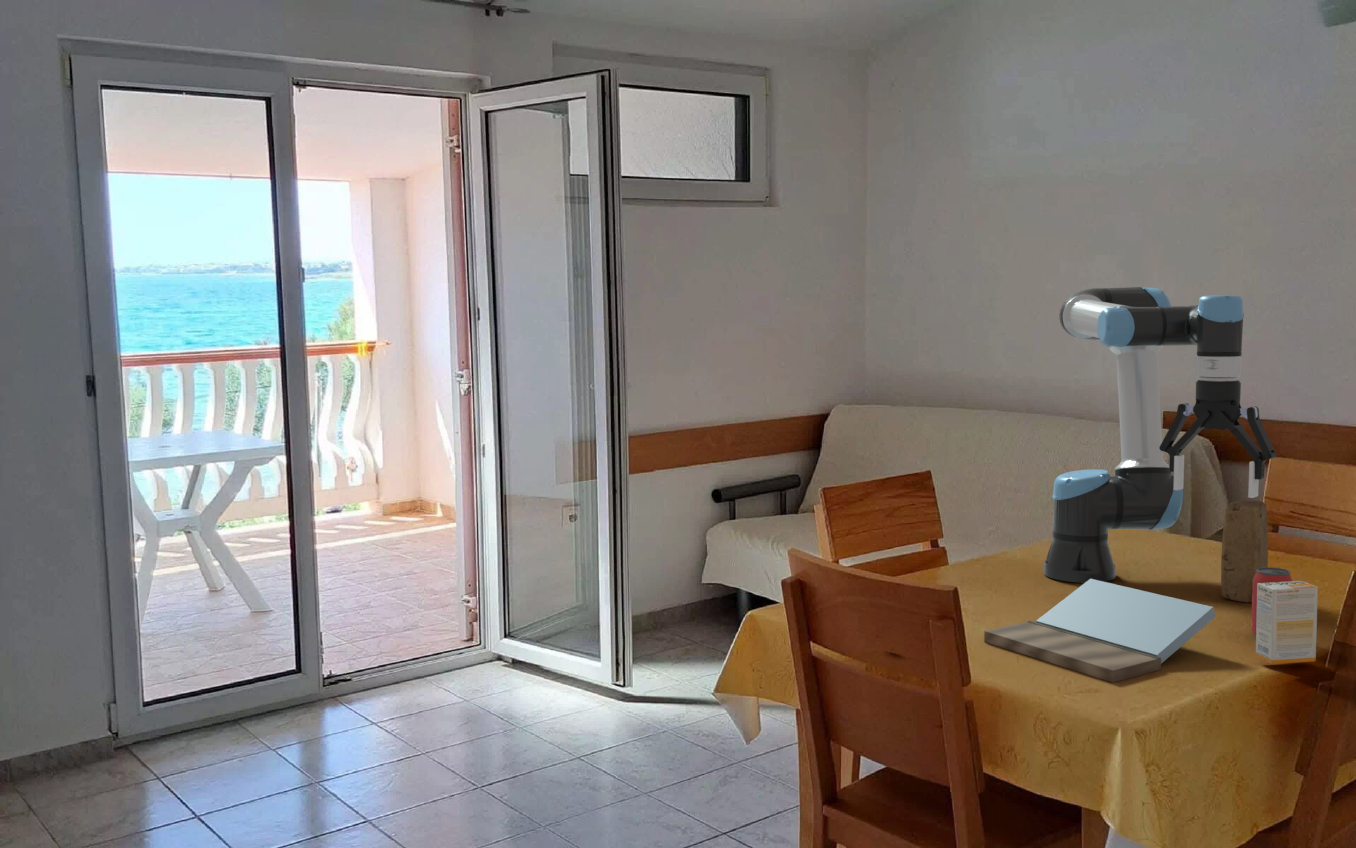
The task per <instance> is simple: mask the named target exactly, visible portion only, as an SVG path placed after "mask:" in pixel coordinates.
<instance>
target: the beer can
mask: <svg viewBox="0 0 1356 848" xmlns="http://www.w3.org/2000/svg"><path fill="white" fill-rule="evenodd" d="M1256 571H1257V572H1256V574H1255V576H1254V578H1253V591H1252V602H1251V623H1250V624H1251V626H1250V627H1251V629H1250V630H1251V633H1253V634H1254V635H1255V636H1256V621H1257V583H1270V582H1289V581H1293V579H1292V576H1291V571H1290V570H1288V569H1286V568H1280V567H1272V566H1271V567H1270V566H1269V567H1261V568H1258V569H1256Z"/></svg>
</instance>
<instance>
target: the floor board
mask: <svg viewBox="0 0 1356 848" xmlns="http://www.w3.org/2000/svg"><path fill="white" fill-rule="evenodd" d="M983 634H984V635H983V637H984V638H983V639H984V640H983V641H984V643H987V644H990V645H994V646H996V647H999V648H1003V649H1006V650H1008V651H1013V652H1015V653H1019V654H1022V655H1025V656H1029V657H1031V658H1034V659H1037V660H1041V661H1043V662H1047V663H1049V664H1053V665H1057V666H1060V667H1062V668H1065V669H1068V670H1072V671H1075V672H1079V673H1080V674H1081V673H1082V674H1085V675H1088V676H1091V677H1094V678H1098V679H1101V680H1104V681H1107V682H1110V683H1116V682H1119V681H1123V680H1126V679H1131V678H1136V677H1138V676H1142V675H1143V676H1144V675H1146V674H1151V673H1153V672H1157V671H1161V669H1162V663H1161V658H1159V657H1156V656H1152V655H1149V654H1145V653H1142V652H1138V651H1135V650H1131V649H1128V648H1124V647H1121V646H1117V645H1114V644H1110V643H1107V642H1103V641H1100V640H1096V639H1092V638H1089V637H1085V636H1082V635H1078V634H1075V633H1071V632H1068V631H1064V630H1061V629H1057V628H1054V627H1050V626H1047V625H1043V624H1040V623H1036V621H1032V620H1027V621H1025V622H1020V623H1015V624H1011V625H1007V626H1001V627H996V628H993V629H992V628H991V629H987V630H984V632H983Z"/></svg>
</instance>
